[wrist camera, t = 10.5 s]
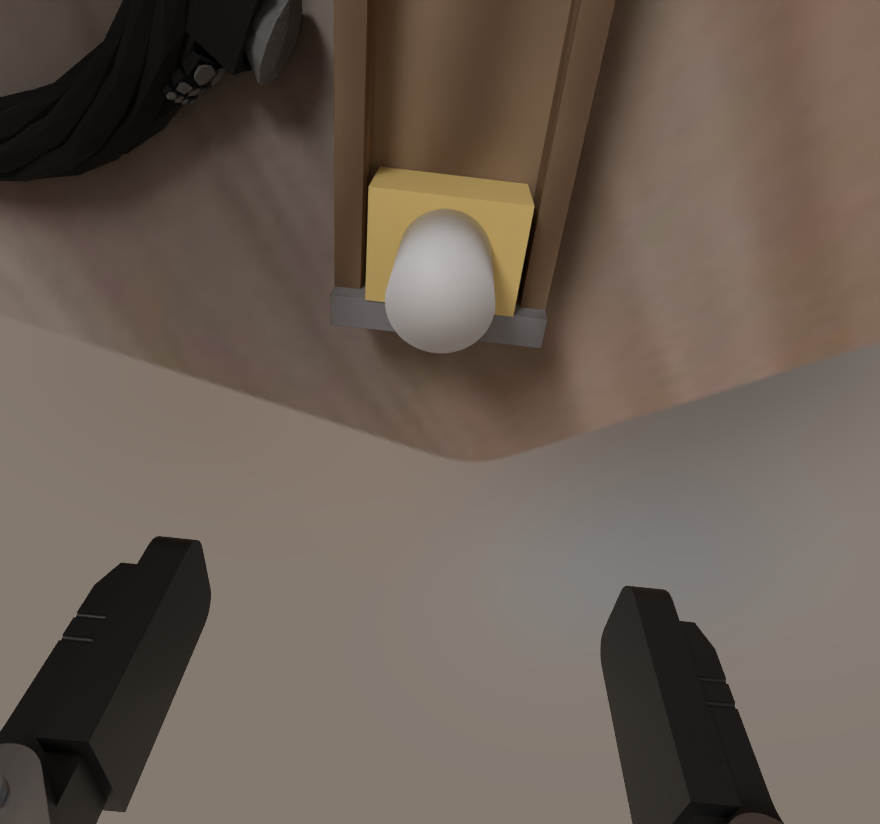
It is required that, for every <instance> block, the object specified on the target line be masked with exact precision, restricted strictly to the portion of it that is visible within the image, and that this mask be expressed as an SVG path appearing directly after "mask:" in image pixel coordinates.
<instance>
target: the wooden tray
mask: <svg viewBox="0 0 880 824" xmlns="http://www.w3.org/2000/svg"><path fill="white" fill-rule="evenodd" d="M615 1H616V0H334V171H335V287H334V289H333V291H332V293H331V325H340V326H348V327H357V328H366V329H375V330H384V331H393V332H395V330H394V329H393V327H392V326H391V324H390V322H389V319H388V317H387V313H386V308H385V302H379V301H370V300H365V289H366V256H367V223H368V190H369V185H370V183H371V181H372V180H373V178H374V176H375V174H376V172H377V171H378V169H379V167H380V166H381V167H389V168H398V169H406V170H414V171H423V172H431V173H439V174H448V175H456V176H465V177H473V178H481V179H490V180H498V181H506V182H515V183H523V184H528V186H529V189H530V193H531V196H532V199H533V203H534V212H533V217H532V222H531V227H530V232H529V237H528V243H527V248H526V253H525V258H524V263H523V269H522V274H521V279H520V284H519V289H518V294H517V300H516V305H515V310H514V315H513V317H510V316H501V315H494V316H493V320H492V322H491V324H490V326H489V328H488V330H487V331H486V332H485V334H484V335H483V336H482V337H481V338H480V339H479V340H478V341H481V342H490V343H499V344H507V345H516V346H525V347H534V348H541V346H542V341H543V337H544V333H545V329H546V324H547V316H546V311H545V310H546V305H547V301H548V296H549V292H550V287H551V283H552V279H553V274H554V270H555V265H556V261H557V257H558V252H559V248H560V243H561V239H562V235H563V230H564V226H565V221H566V217H567V213H568V208H569V204H570V199H571V195H572V191H573V186H574V182H575V177H576V173H577V168H578V164H579V160H580V155H581V151H582V146H583V142H584V138H585V133H586V129H587V124H588V120H589V116H590V111H591V107H592V102H593V98H594V94H595V89H596V85H597V80H598V76H599V72H600V67H601V63H602V58H603V54H604V49H605V45H606V41H607V36H608V32H609V27H610V23H611V19H612V14H613V10H614V5H615Z"/></svg>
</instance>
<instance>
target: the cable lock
mask: <svg viewBox="0 0 880 824" xmlns="http://www.w3.org/2000/svg"><path fill="white" fill-rule="evenodd" d="M301 18H302V0H123V1H122V3H121V5H120V8H119V10H118V12H117V14H116V16H115V18H114V20H113V22H112V24H111V27H110V29H109V31H108V33H107V35H106V37H105V39H104V41H103V42H102V43H101V44H100V45H98V46H97V47H96V48H95V49H94V50H93V51H91V52H90V53H89V54H88V55H87V56H85V57H84V58H83V59H82V60H81V61H79V62H78V63H77V64H76V65H75V66H73V67H72V68H71V69H70V70H69V71H68V72H66V73H65V74H64V75H63V76H62V77H60V78H59V79H58V80H57V81H56V82H54V83H52V84H49V85H46V86H43V87H40V88H37V89H34V90H29V91H25V92H21V93H16V94H12V95H8V96H4V97H0V181H30V180H34V179H41V178H52V177H62V176H73V175H80V174H82V173H85V172H87V171H89V170H92V169H94V168H97V167H99V166H102V165H104V164H106V163H109V162H111V161H114V160H116V159H119V158H120V157H121V156H122V155H123V154H126V153H128V152H130V151H131V150H133V149H134V148H136V147H137V146H139V145H140V144H142V143H143V142H145V141H146V140H148V139H149V138H151V137H152V136H154V135H155V134H157V133H158V132H160V131H161V130H163V129H164V128H165V126H166V125H167V124H168V123H169V121H170V120H171V119H172V118H173V116H174V115H175V114H176V113H177V111H178V110H179V109H180V108H181V106H182V105H183V104H184V105H185V104H186V103H187V102H188V105H189V104H192V103H195V100H196V99H197V97H198V94H201V93H202V92H204V91H205V90H207V89H208V88H209V87H211V86H213V85H215V84H217V83H218V82H219V80H220V79H221V78H222V76H223V75H224V74H225V73H226V71H229V72H230V73H231V74H232V75H234V74H238V73H241V72H244V71H250V70H252V69H253V72H254V74H255V77H256V79H257V81H258V84H259V85H260V86H263V87H264V86H265V85H267V84H269V83H270V82H272V81H273V80H275V79H276V78H278V77H279V76H280V74H281V72H282V70H283V69H284V67H285V65H286V63H287V61H288V59H289V58H290V56H291V54H292V52H293V50H294V49H295V47H296V45H297V39H298V34H299V29H300V24H301Z"/></svg>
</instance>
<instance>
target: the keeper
mask: <svg viewBox="0 0 880 824" xmlns="http://www.w3.org/2000/svg"><path fill="white" fill-rule="evenodd" d="M533 212H534V203H533V199H532V196H531V193H530V189H529V186H528V184H523V183H515V182H506V181H498V180H490V179H481V178H473V177H465V176H456V175H448V174H439V173H431V172H423V171H414V170H406V169H398V168H389V167H381V166H380V167H379V169H378V171H377V172H376V174H375V176H374V178H373V180H372V181H371V183H370V185H369V190H368V223H367V256H366V289H365V300H370V301H379V302H385V308H386V313H387V317H388V319H389V322H390V324H391V326H392V327H393V329H394V330H395V332H396V333H397V334H398V335H399V336H400V337H401V338H402V339H403V340H404V341H406V342H407V343H408V344H410V345H412V346H413V347H415V348H418V349H420V350H423V351H426V352H431V353H452V352H456V351H460V350H462V349H465V348H467V347H469V346H471V345H472V344H474V343H475V342H476V341H478V340H479V339H480V338H481V337H482V336H483V335H484V334H485V332H486V331H487V330H488V328H489V326H490V324H491V322H492V320H493V316H494V315H501V316H510V317H513V315H514V310H515V305H516V300H517V294H518V289H519V284H520V279H521V274H522V269H523V263H524V258H525V253H526V248H527V243H528V237H529V232H530V227H531V222H532V217H533Z"/></svg>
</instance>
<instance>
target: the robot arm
mask: <svg viewBox="0 0 880 824" xmlns="http://www.w3.org/2000/svg"><path fill="white" fill-rule="evenodd" d="M210 601H211V589H210V584H209V579H208V574H207V569H206V564H205V559H204V554H203V549H202V545H201V543H200V541H198V540H191V539H181V538H172V537H162V536H158V537H155V538H154V539H153V540H152V541H151V542H150V544H149V545H148V547H147V548H146V550H145V552H144V554H143V555H142V557H141V559H140V560H139V562H138V564H129V563H120V564H119V565H118V566H117V567H115V568H114V569H113V570H112V571H110V572H109V573H108V574H107V575H106V576H105V577H103V578H102V579H101V580H100V581H99V582H97V583H96V584H95V585H94V587H93V588H92V590H91V591H90V593H89V594H88V596H87V597H86V599H85V601H84V602H83V604H82V605H81V607H80V608H79V610H78V612H77V616H76V618H73V619H72V621H71V622H70V624H69V626H68V627H67V629H66V630H65V632H64V633H63V638H62V640H61V641H58V643H57V644H56V646H55V648H54V649H53V651H52V652H51V654H50V655H49V657H48V659H47V660H46V662H45V663H44V665H43V666H42V668H41V669H40V671H39V672H38V674H37V676H36V677H35V679H34V681H33V682H32V683H31V685H30V686H29V688H28V690H27V691H26V693H25V694H24V696H23V697H22V699H21V701H20V702H19V704H18V705H17V707H16V709H15V710H14V712H13V713H12V715H11V716H10V718H9V719H8V721H7V723H6V724H5V726H4V727H3V729H2V730H1V731H0V824H96V823H97V820H98V818H99V816H100V814H101V812H102V810H106V811H118V812H125V811H126V809H127V807H128V804H129V802H130V799H131V797H132V795H133V792H134V790H135V787H136V785H137V783H138V781H139V778H140V776H141V773H142V771H143V769H144V766H145V764H146V761H147V759H148V757H149V755H150V752H151V750H152V748H153V745H154V743H155V741H156V738H157V736H158V733H159V731H160V728H161V726H162V724H163V722H164V719H165V717H166V715H167V712H168V710H169V708H170V705H171V702H172V700H173V698H174V696H175V693H176V691H177V688H178V686H179V684H180V681H181V679H182V677H183V675H184V672H185V670H186V667H187V665H188V663H189V660H190V658H191V656H192V653H193V651H194V649H195V646H196V644H197V642H198V639H199V637H200V634H201V632H202V630H203V627H204V625H205V622H206V619H207V616H208V613H209V608H210ZM601 664H602V669H603V675H604V680H605V685H606V690H607V695H608V700H609V705H610V710H611V715H612V721H613V726H614V731H615V736H616V741H617V746H618V751H619V757H620V762H621V767H622V772H623V777H624V782H625V787H626V792H627V797H628V803H629V808H630V813H631V818H632V823H633V824H784V823H783V822H782V820H781V818H780V817H779V815H778V813H777V811H776V809H775V807H774V805H773V803H772V800H771V798H770V795H769V792H768V790H767V787H766V784H765V781H764V779H763V776H762V773H761V771H760V768H759V766H758V763H757V760H756V757H755V755H754V752H753V750H752V747H751V744H750V742H749V739H748V736H747V733H746V731H745V728H744V725H743V723H742V720H741V718H740V715H739V712H738V710H737V709H735V701H734V699H733V696H732V693H731V691H730V688H729V685H728V684H726V677H725V675H724V672H723V669H722V667H721V664H720V661H719V659H718V656H717V653H716V651H715V648H714V647H713V646H712V645H711V643H710V642H709V641H708V639H707V638H706V637H705V636H704V634H703V633H702V632H701V630H700V629H699V628H698V626H697V625H696V624H695V623H693V622H684V621H679V618H678V615H677V612H676V609H675V606H674V604H673V600H672V598H671V596H670V594H669V593H668V592H667V591H666V590H662V589H653V588H643V587H633V586H625V587H624V588H623V589H622V591H621V593H620V595H619V597H618V599H617V601H616V604H615V606H614V608H613V610H612V613H611V615H610V617H609V619H608V621H607V624H606V626H605V628H604V631H603V634H602V639H601Z"/></svg>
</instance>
